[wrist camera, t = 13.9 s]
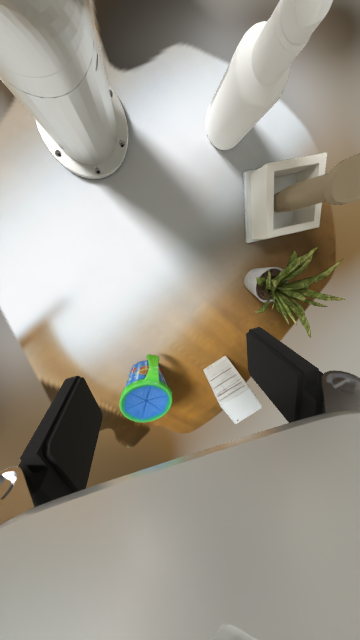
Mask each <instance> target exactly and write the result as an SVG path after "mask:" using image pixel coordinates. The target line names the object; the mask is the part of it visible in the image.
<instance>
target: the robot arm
mask: <svg viewBox="0 0 360 640" xmlns="http://www.w3.org/2000/svg"><path fill="white" fill-rule="evenodd" d="M0 79H1V81H2V82H3V83H4V84H5V85H6V86H7V87H8V88H9V90H10V91H11V92H12V93H13V94H14V95H15V97H16V98H17V99H18V100H19V101H20V102H21V104H22V105H23V106H24V107H25V108H26V109H27V110H28V112H29V113H30V114H31V115H32V116H33V117H34V118H35V121H36V124H37V127H38V130H39V133H40V135H41V137H42V139H43V142H44V143H45V145H46V146H47V148H48V150H49V151H50V152H51V154H52V155H53V156H54V157H55V158H56V160H57V161H58V162H60V163H61V164H62V165H63V166H64V167H65V168H67V169H68V170H69V171H71V172H72V173H74V174H76V175H78V176H81V177H84V178H88V179H100V178H104V177H107V176H109V175H111V174H112V173H114V172H115V171H116V170H117V169H118V168H119V167H120V166H121V164H122V162H123V161H124V159H125V156H126V153H127V149H128V142H129V140H128V125H127V120H126V116H125V112H124V109H123V107H122V104H121V102H120V100H119V98H118V96H117V94H116V92H115V91H114V90H113V88H112V87H111V86H110V84H109V83H108V82H107V77H106V73H105V68H104V64H103V59H102V55H101V50H100V46H99V41H98V37H97V32H96V28H95V23H94V19H93V14H92V10H91V5H90V1H89V0H0ZM111 97H112V98H111ZM121 145H124V147H121ZM60 154H61V157H59V155H60ZM97 171H100V174H97ZM246 337H247V356H248V371H249V373H250V375H251V377H252V378H253V379H254V380H255V381H256V383H257V384H258V385H259V386H260V388H261V389H262V390H263V391H264V392H265V394H266V395H267V396H268V397H269V399H270V400H271V401H272V402H273V404H274V405H275V406H276V407H277V408H278V410H279V411H280V412H281V413H282V414H283V416H284V417H285V418H286V420H287V421H288V422H289V423H288V424H284V425H281V426H278V427H274V428H271V429H268V430H265V431H262V432H259V433H255V434H252V435H249V436H246V437H243V438H240V439H237V440H234V441H230V442H227V443H224V444H221V445H218V446H215V447H212V448H208V449H205V450H202V451H199V452H196V453H193V454H190V455H187V456H184V457H180V458H177V459H174V460H171V461H168V462H165V463H162V464H159V465H156V466H153V467H150V468H147V469H144V470H141V471H138V472H135V473H131V474H128V475H125V476H122V477H119V478H116V479H113V480H110V481H107V482H104V483H101V484H98V485H95V486H92V487H89V488H87V489H86V485H87V481H88V477H89V472H90V468H91V464H92V460H93V455H94V451H95V447H96V443H97V439H98V434H99V430H100V426H101V422H102V412H101V410H100V408H99V406H98V404H97V402H96V400H95V398H94V397H93V395H92V393H91V391H90V389H89V387H88V385H87V383H86V381H85V379H84V378H83V377H82V378H80V377H79V376H75V377H71V378H67V379H66V380H65V381H64V383H63V385H62V386H61V388H60V390H59V392H58V393H57V395H56V397H55V399H54V400H53V402H52V404H51V405H50V407H49V409H48V411H47V412H46V414H45V416H44V418H43V419H42V421H41V423H40V425H39V426H38V428H37V430H36V431H35V433H34V435H33V437H32V438H31V440H30V442H29V444H28V445H27V447H26V449H25V451H24V452H23V454H22V456H21V458H20V459H21V460H22V461H21V463H20V464H19V466H18V467H11V468H8V469H6V470H4V471H2V472H0V640H360V378H359V377H357V376H355V375H353V374H350V373H347V372H343V371H328V372H325V373H324V374H323V373H322V372H320V371H319V369H318V368H317V367H315V366H314V365H312V364H311V363H310V362H308V361H307V360H305V359H304V358H302V357H301V356H300V355H298V354H297V353H296V352H294V351H293V350H291V349H290V348H289V347H287V346H286V345H284V344H283V343H282V342H280V341H279V340H277V339H276V338H275V337H273V336H272V335H270V334H269V333H268V332H266V331H265V330H263V329H262V328H260V327H257V328H254V329H250V330H249V332H248V333H247V334H246Z"/></svg>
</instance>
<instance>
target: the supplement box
mask: <svg viewBox="0 0 360 640" xmlns="http://www.w3.org/2000/svg"><path fill="white" fill-rule="evenodd" d="M203 371H204V373H205V375H206V377H207V379H208V381H209V383H210V385H211V387H212V390H213V392H214V394H215V396H216V398H217V400H218V402H219V404H220V406H221V408H222V409H223V410H224V411H225V412H226V413H227V415H228V416H229V417H230V418H231V419H232V421H233V422H234V423H235V424H236V423H238V422H240V421H241V420H243V419H244V418H246V417H248V416H249V415H251V414H253V413H254V412H256V411H257V410H259V409H261V408H262V405H261V404H260V402H259V401H258V399H257V398H256V396H255V395H254V393H253V391H252V390H251V389H250V388H249V386H248V385H247V383H246V382H245V381H244V379H243V378H242V377H241V375H240V374H239V373H238V371H237V370H236V369H235V367H234V366H233V365H232V363H231V362H230V361H229V359H228V358H227V357H226V356H224V357H222V358H221V359H219V360H217V361H216V362H214V363H213V364H211V365H210V366H208V367H207V368H205V369H204V370H203Z"/></svg>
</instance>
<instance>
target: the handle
mask: <svg viewBox="0 0 360 640" xmlns="http://www.w3.org/2000/svg"><path fill="white" fill-rule="evenodd" d="M358 199H360V153H359V154H356V155H354V156H351V157H349V158H347V159H345V160H342V161H341V162H339V163H338V164H337V165H336V166H335V167H334V168H333V169H332V170H331V171H330V172H329V173H327V174H324V175H321V176H318V177H315V178H312V179H308V180H305V181H302V182H299V183H296V184H294V185H291V186H289V187H287V188H285V189H283V190H282V191H280V192H278V193H276V194H274V211H275V212H277V213H279V212H288V211H294V210H299V209H302V208H305V207H308V206H312V205H315V204H318V203H321V202H325V201H327V203H328V204H334V205H342V204H347V203H351V202H354V201H356V200H358Z"/></svg>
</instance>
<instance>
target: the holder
mask: <svg viewBox="0 0 360 640" xmlns="http://www.w3.org/2000/svg"><path fill="white" fill-rule="evenodd" d="M326 159H327V153H321V154H315V155H309V156H304V157H298V158H293V159H287V160H282V161H276V162H271V163H267V164H265V165H264V166H262V167H261V168H259V169H255V170H250V171H246V172H244V173H243V179H244V204H245V229H246V243H250V242H255V241H259V240H264V239H268V238H273V237H277V236H282V235H287V234H291V233H296V232H300V231H304V230H308V229H313V228H317V227H319V224H320V215H321V205H322V202H321V203H318V204H315V205H312V206H308V207H305V208H302V209H299V210H294V211H288V212H279V213H277V212H275V211H274V194H276V193H278V192H280V191H282V190H283V189H285V188H287V187H289V186H291V185H294V184H296V183H299V182H302V181H305V180H308V179H312V178H315V177H318V176H321V175H324V174H325V168H326Z"/></svg>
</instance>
